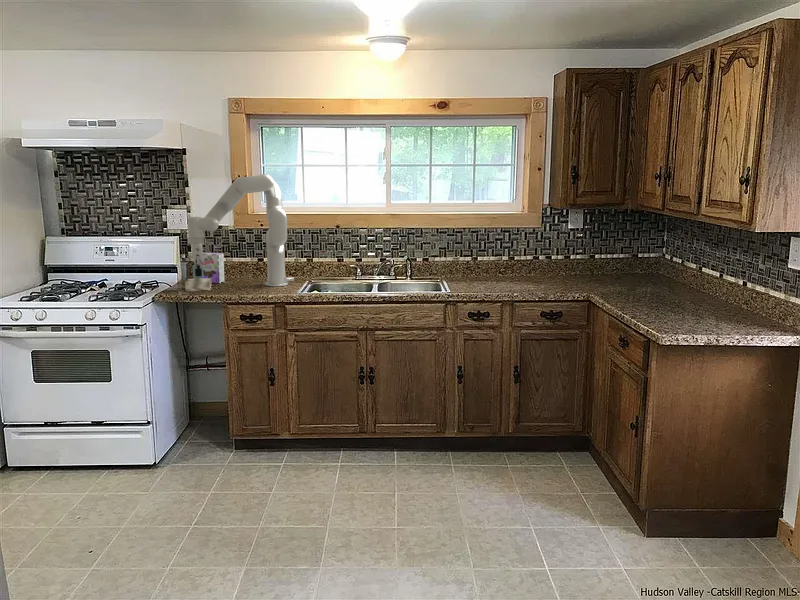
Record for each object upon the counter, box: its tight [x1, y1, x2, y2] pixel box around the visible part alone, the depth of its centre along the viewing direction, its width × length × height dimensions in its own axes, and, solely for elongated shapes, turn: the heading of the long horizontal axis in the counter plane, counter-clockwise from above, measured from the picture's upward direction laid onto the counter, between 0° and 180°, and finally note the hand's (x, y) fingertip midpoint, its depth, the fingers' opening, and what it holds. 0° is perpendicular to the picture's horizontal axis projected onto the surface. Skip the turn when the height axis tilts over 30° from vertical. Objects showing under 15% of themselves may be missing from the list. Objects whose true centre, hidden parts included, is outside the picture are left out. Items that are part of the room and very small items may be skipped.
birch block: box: [184, 278, 213, 292], centre depth 344 cm, size 12×12×5 cm
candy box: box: [197, 252, 225, 284], centre depth 364 cm, size 14×6×16 cm, turn 73°
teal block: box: [192, 264, 204, 279], centre depth 342 cm, size 5×5×6 cm
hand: (198, 275), depth 343 cm, fingers closed on teal block, 4 cm apart
